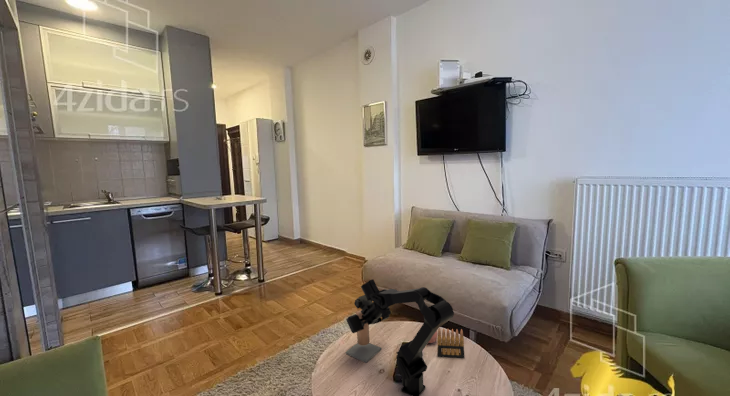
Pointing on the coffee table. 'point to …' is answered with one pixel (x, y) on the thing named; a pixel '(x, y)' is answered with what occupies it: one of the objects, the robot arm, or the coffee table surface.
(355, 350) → the slate mat
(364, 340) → the tan domed cylinder
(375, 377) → the coffee table surface
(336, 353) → the coffee table surface
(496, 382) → the coffee table surface
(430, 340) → the pink bottle vase
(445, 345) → the ammunition clip
